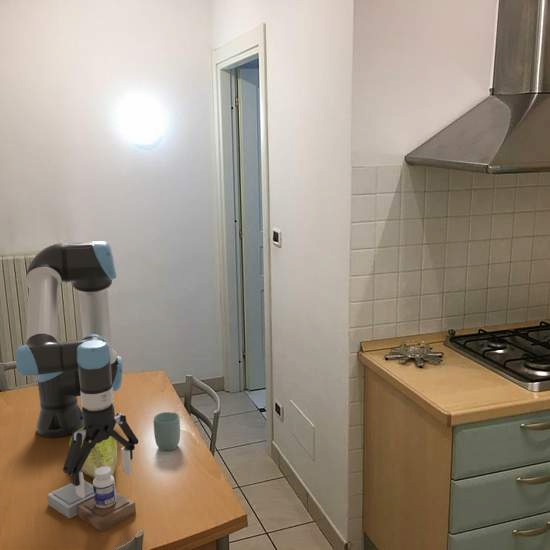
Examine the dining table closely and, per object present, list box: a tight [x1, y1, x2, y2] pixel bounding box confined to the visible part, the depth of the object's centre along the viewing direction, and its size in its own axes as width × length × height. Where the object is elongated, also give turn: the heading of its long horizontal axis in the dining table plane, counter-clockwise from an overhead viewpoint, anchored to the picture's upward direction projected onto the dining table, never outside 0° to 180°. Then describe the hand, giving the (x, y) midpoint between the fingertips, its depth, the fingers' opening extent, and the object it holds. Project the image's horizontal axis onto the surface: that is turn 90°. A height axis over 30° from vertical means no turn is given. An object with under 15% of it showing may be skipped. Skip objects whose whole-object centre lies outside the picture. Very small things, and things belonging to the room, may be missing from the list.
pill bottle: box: [92, 467, 117, 508], centre depth 157 cm, size 5×5×9 cm
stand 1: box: [46, 479, 94, 519], centre depth 164 cm, size 10×10×3 cm
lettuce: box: [68, 426, 118, 479], centre depth 181 cm, size 12×24×13 cm
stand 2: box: [78, 491, 137, 533], centre depth 158 cm, size 10×10×3 cm
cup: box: [152, 411, 181, 452], centre depth 192 cm, size 8×8×10 cm
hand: (104, 483), depth 157 cm, fingers open, 13 cm apart
